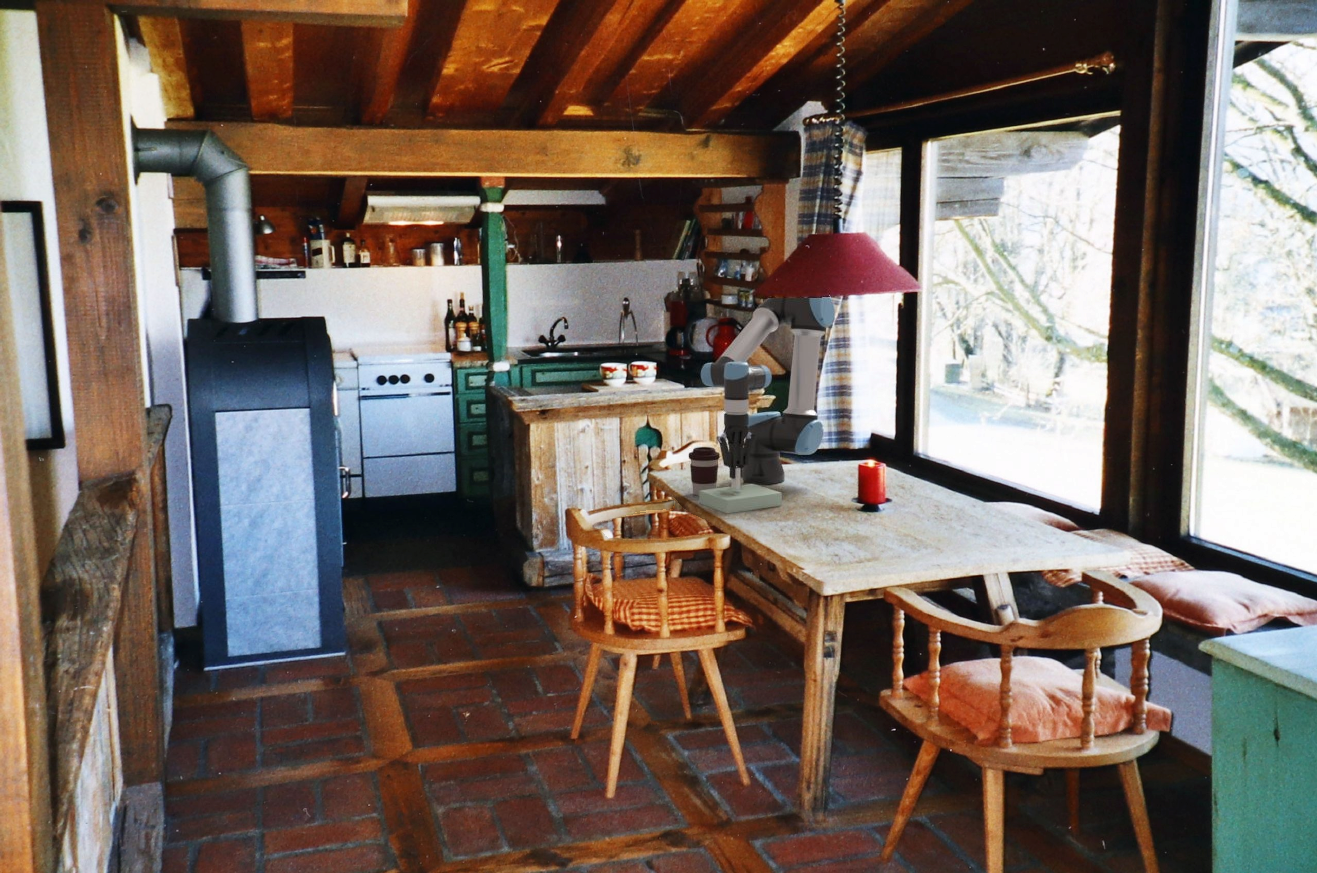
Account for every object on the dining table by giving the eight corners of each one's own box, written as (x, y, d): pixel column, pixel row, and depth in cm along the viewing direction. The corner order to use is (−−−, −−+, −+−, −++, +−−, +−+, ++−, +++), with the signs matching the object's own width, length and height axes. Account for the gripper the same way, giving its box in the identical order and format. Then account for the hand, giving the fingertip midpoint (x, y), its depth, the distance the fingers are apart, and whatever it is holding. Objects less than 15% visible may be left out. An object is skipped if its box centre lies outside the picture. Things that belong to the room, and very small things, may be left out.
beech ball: (739, 485, 363) (739, 474, 362) (745, 487, 360) (745, 476, 359) (730, 486, 361) (730, 475, 361) (736, 488, 358) (736, 477, 358)
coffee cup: (720, 491, 374) (720, 446, 371) (718, 497, 364) (718, 451, 361) (689, 490, 374) (689, 445, 372) (687, 497, 365) (687, 451, 362)
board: (752, 495, 366) (752, 483, 366) (781, 505, 353) (781, 492, 352) (699, 503, 357) (699, 490, 356) (727, 513, 343) (727, 500, 342)
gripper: (747, 409, 355) (746, 483, 359) (711, 412, 349) (711, 488, 353) (761, 412, 349) (760, 488, 353) (725, 415, 343) (724, 492, 347)
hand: (735, 488), depth 353 cm, fingers closed
